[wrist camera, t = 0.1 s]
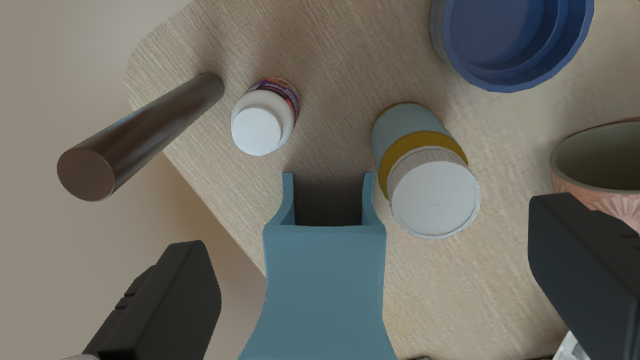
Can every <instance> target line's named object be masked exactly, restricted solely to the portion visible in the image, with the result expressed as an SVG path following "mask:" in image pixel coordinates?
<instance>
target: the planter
mask: <svg viewBox="0 0 640 360" xmlns="http://www.w3.org/2000/svg"><path fill="white" fill-rule="evenodd" d="M549 164H550V170H551V177H552V184H553V190H554V194H555V193H563V192H569V193H571V194H572V195H573V196H575V197H576V198H577V199H578V200H579V201H580V202H582V203H583V204H584V205H585V206H586V207H587V208H589V209H590V210H600V211H602V212H604V213H607V214H609V215H611V216H614V217H616V218H619V219H621V220H623V221H624V222H625V223H626V224H628V225H629V226H630V227H631V228H633V229H634V230H635V231H636V232H638V233H639V236H640V121H637V122H624V123H616V124H610V125H604V126H600V127H596V128H592V129H589V130H586V131H583V132H580V133H578V134H575V135H573V136H571V137H569V138H567V139H566V140H564V141H563V142H561V143H560V144H559V145H558V146H557V147H556V148H555V149H554V150H553V152H552V153H551V155H550V160H549Z"/></svg>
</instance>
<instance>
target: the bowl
mask: <svg viewBox="0 0 640 360" xmlns="http://www.w3.org/2000/svg"><path fill="white" fill-rule="evenodd" d="M593 13H594V0H433V1H432V6H431V12H430V18H429V28H430V35H431V42H432V44H433V46H434V48H435V50H436V52H437V54H438V56H439V58H440V60H441V61H442V62H443V63H444V64H445V65H446V66H447V67H448V68H449V69H450V70H452V71H453V72H454V73H455V74H457V75H458V76H460V77H461V78H463V79H464V80H466V81H467V82H469V83H470V84H472V85H475V86H477V87H479V88H482V89H484V90H486V91H489V92H502V93H512V92H517V91H521V90H526V89H530V88H533V87H535V86H537V85H539V84H541V83H542V82H544V81H546V80H548V79H550V78H552V77H553V76H555V75H556V74H557V73H558V72H559V71H560V70H561V69H562V68H563V67H564V66H565V65H566V64H568V63H569V62H570V61H571V60H572V59H573V57H574V56H575V54H576V52H577V51H578V49H579V48H580V46H581V45H582V43H583V42H584V40H585V38H586V36H587V33H588V30H589V27H590V23H591V20H592V17H593Z"/></svg>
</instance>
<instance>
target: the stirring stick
mask: <svg viewBox="0 0 640 360" xmlns="http://www.w3.org/2000/svg"><path fill="white" fill-rule="evenodd" d="M223 94H224V85H223V82H222V80H221V79H220V78H219V77H218V76H217V75H215V74H213V73H210V72H205V73H202V74H200V75H198V76H196V77H194V78H193V79H191V80H189V81H187V82H186V83H184V84H182V85H180V86H179V87H177V88H175V89H173V90H172V91H170V92H168V93H167V94H165V95H163V96H161V97H160V98H158V99H156V100H154V101H153V102H151V103H149V104H147V105H146V106H144V107H142V108H140V109H139V110H137V111H135V112H133V113H132V114H130V115H128V116H126V117H125V118H123V119H121V120H119V121H118V122H116V123H114V124H112V125H111V126H109V127H107V128H105V129H104V130H102V131H100V132H98V133H97V134H95V135H93V136H91V137H90V138H88V139H86V140H84V141H83V142H81V143H79V144H77V145H76V146H74V147H72V148H70V149H69V150H67V151H66V152H64V153H63V154H62V155H61V157H60V158H59V161H58V164H57V174H58V177H59V180H60V182H61V183H62V185H63V186H64V188H65V189H66V190H67V191H68V192H70V193H71V194H72V195H74V196H76V197H77V198H79V199H82V200H85V201H91V202H92V201H93V202H95V201H101V200H104V199H106V198H108V197H109V196H110V195H111V194H113V193H114V192H115V191H116V190H117V189H118V188H119V187H120V186H122V185H123V184H124V183H125V182H126V181H127V180H128V179H129V178H131V177H132V176H133V175H134V174H135V173H136V172H138V171H139V170H140V169H141V168H142V167H143V166H144V165H145V164H147V163H148V162H149V161H150V160H151V159H152V158H153V157H155V156H156V155H157V154H158V153H159V152H160V151H162V150H163V149H164V148H165V147H166V146H167V145H168V144H170V143H171V142H172V141H173V140H174V139H175V138H176V137H178V136H179V135H180V134H181V133H182V132H183V131H184V130H186V129H187V128H188V127H189V126H190V125H191V124H192V123H194V122H195V121H196V120H197V119H198V118H199V117H200V116H201V115H203V114H204V113H205V112H206V111H207V110H208V109H209V108H211V107H212V106H213V105H214V104H215V103H216V102H217V101H219V100H220V99H221V98H222V96H223Z"/></svg>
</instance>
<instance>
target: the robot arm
mask: <svg viewBox="0 0 640 360" xmlns="http://www.w3.org/2000/svg"><path fill="white" fill-rule="evenodd" d="M528 260H529V265H530V269H531V272H532V274H533V276H534V278H535V280H536V281H537V283H538V284H539V286H540V287H541V289H542V290H543V292H544V293H545V295H546V296H547V298H548V299H549V300H550V302H551V303H552V305H553V306H554V308H555V309H556V311H557V312H558V314H559V315H560V316H561V318H562V319H563V321H564V322H565V324H566V325H567V327H568V328H569V330H570V331H571V332H572V334H573V335H574V337H575V338H576V340H577V341H578V343H579V344H580V346H581V347H582V348H583V350H584V351H585V353H586V354H587V356H588V357H589V359H590V360H640V236H639V233H638V232H636V231H635V230H634V229H633V228H631V227H630V226H629V225H628V224H626V223H625V222H624V221H623V220H621V219H619V218H616V217H614V216H611V215H609V214H607V213H604V212H602V211H600V210H590V209H589V208H587V207H586V206H585V205H584V204H583V203H582V202H580V201H579V200H578V199H577V198H576V197H575V196H573V195H572V194H571V193H569V192H563V193H555V194H548V195H540V196H533V197H532V198H531V200H530V203H529V223H528ZM220 311H221V292H220V288H219V285H218V282H217V279H216V276H215V273H214V270H213V267H212V264H211V261H210V258H209V255H208V252H207V249H206V247H205V245H204V243H203V242H202V241H200V240H196V241H189V242H181V243H174V244H170V245H169V246H168V247H167V249H166V250H165V251H164V253H163V255H162V256H161V257H160V259H159V260H158V262H157V263H156V265H153V266H151V267H150V268H148V269H147V270H146V271H145V272H143V273H142V274H141V275H140V276H139V277H137V278H136V279H135V280H134V281H133V283H132V284H131V286H130V287H129V288H128V290H127V291H126V293H125V294H124V297H123V298H121V300H120V301H119V302H118V304H117V305H116V306H115V310H113V311H112V312H111V313H110V315H109V316H108V318H107V319H106V320H105V322H104V323H103V325H102V326H101V327H100V329H99V330H98V332H97V333H96V334H95V336H94V337H93V338H92V340H91V341H90V343H89V344H88V345H87V347H86V348H85V350H84V351H83V353H82V354H81V355H75V356H71V357H68V358H66V359H63V360H203V358H204V355H205V352H206V350H207V347H208V344H209V341H210V339H211V336H212V334H213V331H214V328H215V326H216V323H217V320H218V318H219V315H220Z"/></svg>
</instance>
